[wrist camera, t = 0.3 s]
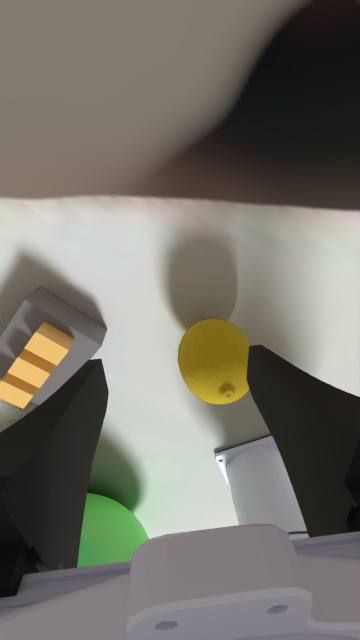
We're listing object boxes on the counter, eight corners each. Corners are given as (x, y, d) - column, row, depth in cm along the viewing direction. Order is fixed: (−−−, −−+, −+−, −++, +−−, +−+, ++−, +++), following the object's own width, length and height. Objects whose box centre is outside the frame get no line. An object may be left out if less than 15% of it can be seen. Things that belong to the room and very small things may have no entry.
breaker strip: (42, 285, 20) (13, 308, 16) (107, 327, 22) (97, 356, 18) (-4, 354, 22) (-39, 389, 18) (59, 386, 24) (41, 424, 20)
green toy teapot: (176, 519, 36) (188, 710, 22) (73, 557, 38) (29, 752, 24) (103, 443, 28) (57, 667, 15) (-21, 496, 30) (-160, 733, 17)
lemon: (161, 333, 22) (164, 399, 15) (208, 290, 21) (236, 340, 14) (203, 368, 24) (223, 440, 17) (248, 331, 23) (290, 392, 16)
